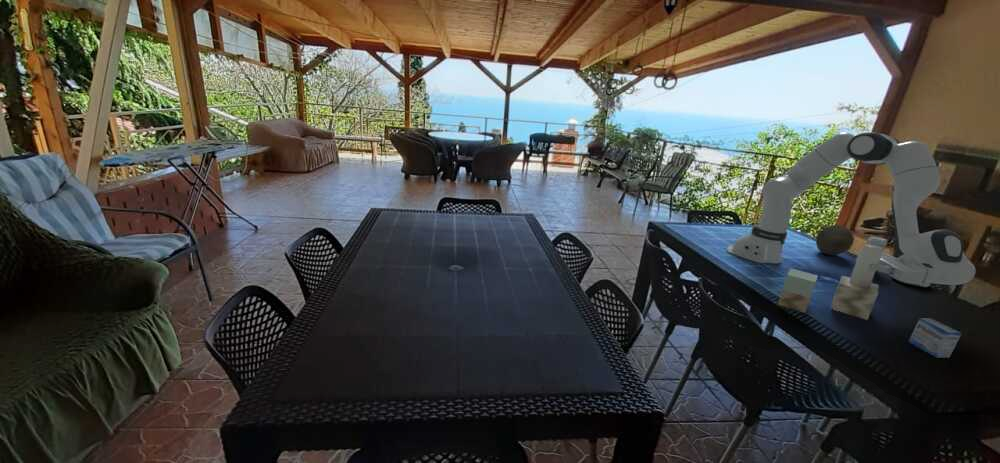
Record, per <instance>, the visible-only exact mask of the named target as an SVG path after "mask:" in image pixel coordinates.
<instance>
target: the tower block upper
mask: <svg viewBox="0 0 1000 463" xmlns="http://www.w3.org/2000/svg"><path fill="white" fill-rule="evenodd" d="M818 278H819V275H817V274H815V273H814V274H813V273H810V272H806V271H803V270H799V269H795V268H792V267H791V268H790V269H789V271H788V272H787V274H786V277H785V279H784V280H785V281H784V283H783V286H782V290H785V291H788V292H791V293H795V294H798V295H801V296H805V297H808V298H810V297H811V298H812V296H813V293H814V289H815V287H816V284H817V282H818ZM782 290H781V291H782ZM812 292H813V293H812ZM811 295H812V296H811Z"/></svg>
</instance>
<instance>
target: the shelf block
mask: <svg viewBox="0 0 1000 463" xmlns="http://www.w3.org/2000/svg"><path fill="white" fill-rule="evenodd" d="M850 278H851V276H845V275H841V276H840V279H839V282H838V285H837V288H836V291H835V293H834V296H833V299H832V302H831V305H830V308H829V309H830V310H832V309H833V310H832V311H836V312H839V311H840V312H839V313H842V312H843V314H846V315H849V316H852V317H857V318H860V319H862V320H865V321H868V320H869V318H870V315H871V312H872V310H873V307H874V305H875V302H876V301H877V298H878V295H879V284H876V283H873V282H871V284H870V287H869V288H863V287H858V286H855V285H853V284H851V283H849V280H850Z"/></svg>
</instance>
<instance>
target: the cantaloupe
mask: <svg viewBox="0 0 1000 463" xmlns="http://www.w3.org/2000/svg"><path fill="white" fill-rule="evenodd" d="M815 240H816V241H815V244H816V246H817V249H818V250H819V252H821V253H823V254H824V255H829V256H838V255H841V254H843V253H846V252H847V251H849V250H850V249H851V248H852V246H853V245H854V242H855V238H854V234H853V231H852V230H851V229H849V228H848V227H846V226H843V225H839V224H837V225H835V224H831V225H828V226H825V227H824V228H823V229H821V230H820V231H819V232H818V233H817V236H816V239H815Z"/></svg>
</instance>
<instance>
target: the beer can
mask: <svg viewBox="0 0 1000 463" xmlns="http://www.w3.org/2000/svg"><path fill="white" fill-rule="evenodd" d="M866 244H870V245H875V246H879V247H882V248H884V250H885V249H886V246H887V244H888V240H887V239H886V238H883V237H881V236H880V237H879V236H874V235H872V236H870V237H869V238H868V239H867V242H866Z"/></svg>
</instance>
